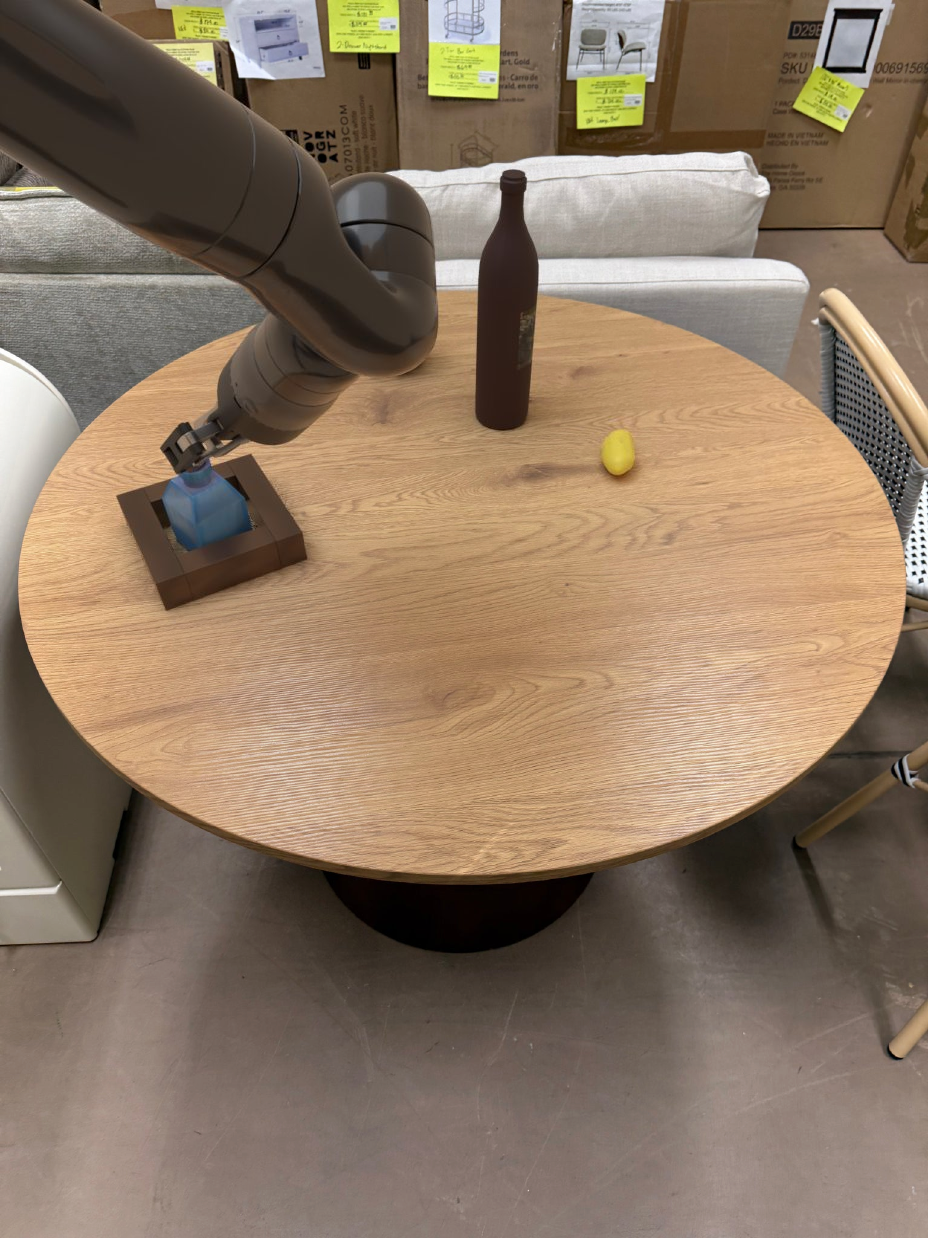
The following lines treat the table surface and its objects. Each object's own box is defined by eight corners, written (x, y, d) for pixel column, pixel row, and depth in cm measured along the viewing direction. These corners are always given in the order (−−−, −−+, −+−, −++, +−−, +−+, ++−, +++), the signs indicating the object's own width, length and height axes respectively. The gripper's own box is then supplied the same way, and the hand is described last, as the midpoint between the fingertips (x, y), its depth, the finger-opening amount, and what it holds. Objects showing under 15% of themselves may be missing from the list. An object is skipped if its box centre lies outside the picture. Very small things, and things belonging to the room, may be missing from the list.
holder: (165, 610, 84) (155, 583, 81) (126, 522, 93) (115, 495, 90) (307, 558, 90) (302, 531, 87) (257, 480, 99) (251, 453, 96)
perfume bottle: (255, 540, 92) (233, 453, 83) (208, 568, 89) (181, 480, 80) (222, 515, 94) (198, 428, 86) (176, 541, 91) (146, 453, 83)
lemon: (635, 447, 104) (640, 422, 101) (630, 486, 99) (635, 460, 96) (602, 443, 104) (607, 417, 101) (595, 481, 99) (599, 455, 96)
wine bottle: (518, 435, 105) (536, 190, 83) (467, 424, 107) (471, 180, 85) (534, 406, 110) (555, 166, 87) (485, 396, 111) (493, 157, 89)
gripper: (331, 300, 63) (268, 374, 77) (169, 369, 56) (131, 437, 70) (381, 388, 64) (310, 445, 78) (229, 466, 57) (181, 513, 71)
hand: (226, 441), depth 74 cm, fingers open, 8 cm apart
